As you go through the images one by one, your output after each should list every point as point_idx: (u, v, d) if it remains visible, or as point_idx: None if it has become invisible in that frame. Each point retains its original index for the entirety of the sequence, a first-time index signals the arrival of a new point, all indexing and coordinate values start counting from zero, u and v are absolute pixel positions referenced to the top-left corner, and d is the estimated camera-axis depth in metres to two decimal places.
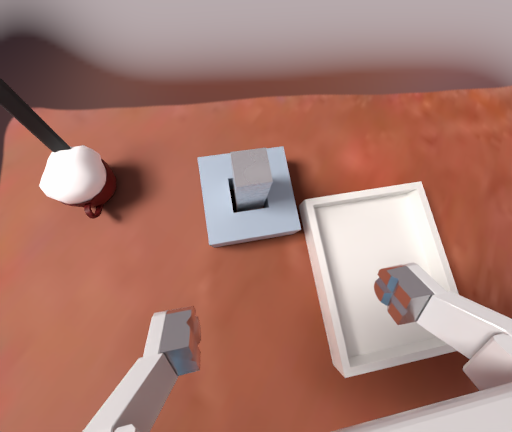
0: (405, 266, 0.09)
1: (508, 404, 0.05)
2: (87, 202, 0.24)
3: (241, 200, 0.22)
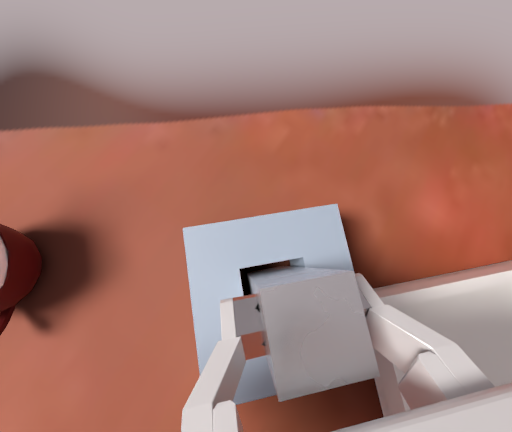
0: None
1: (508, 404, 0.05)
2: None
3: None
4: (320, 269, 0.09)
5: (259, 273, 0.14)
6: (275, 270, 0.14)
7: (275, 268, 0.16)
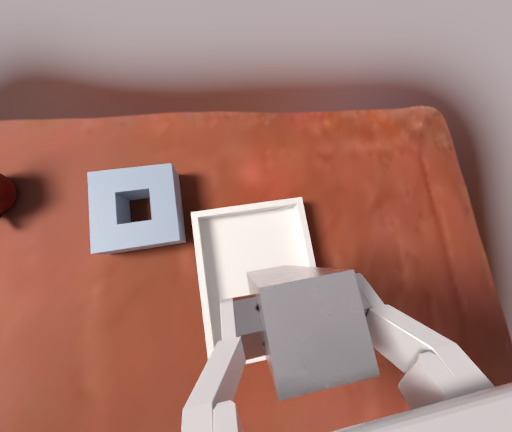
0: None
1: (508, 404, 0.05)
2: None
3: None
4: (320, 268, 0.09)
5: (259, 272, 0.14)
6: (275, 269, 0.14)
7: (275, 267, 0.16)
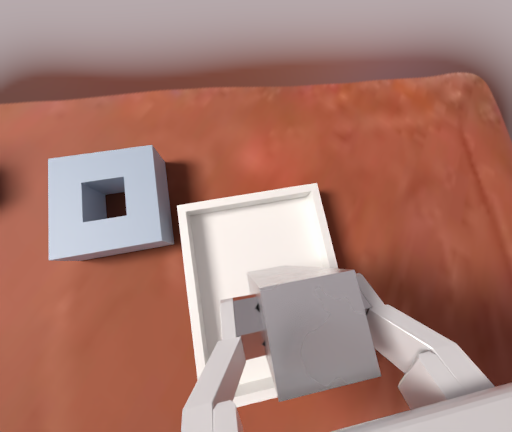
0: None
1: (508, 404, 0.05)
2: None
3: None
4: (320, 268, 0.09)
5: (259, 272, 0.14)
6: (275, 269, 0.14)
7: (275, 267, 0.16)
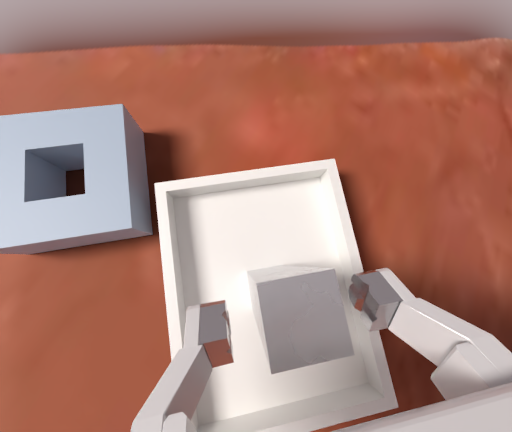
0: (378, 272, 0.09)
1: (508, 404, 0.05)
2: None
3: None
4: (310, 267, 0.11)
5: (257, 271, 0.15)
6: (272, 268, 0.15)
7: (272, 267, 0.18)
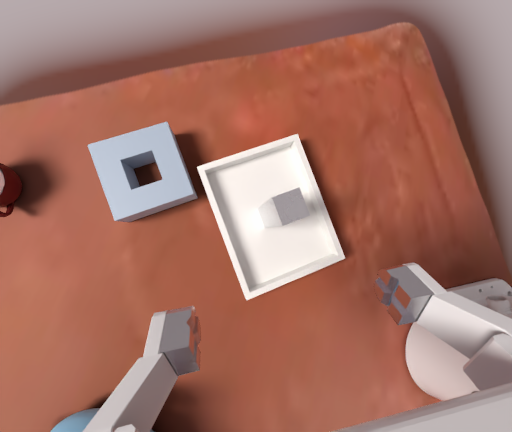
0: (405, 266, 0.09)
1: (508, 404, 0.05)
2: None
3: None
4: None
5: None
6: None
7: None
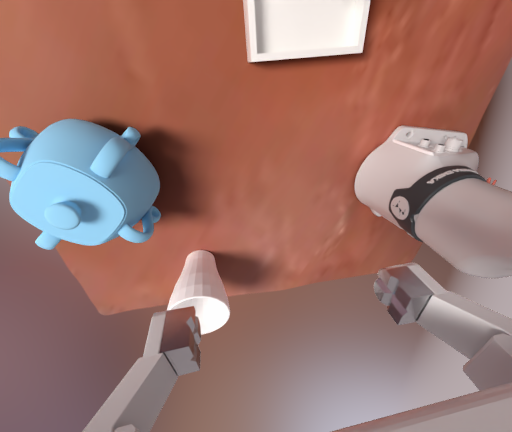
0: (405, 266, 0.09)
1: (508, 404, 0.05)
2: None
3: None
4: None
5: None
6: None
7: None
